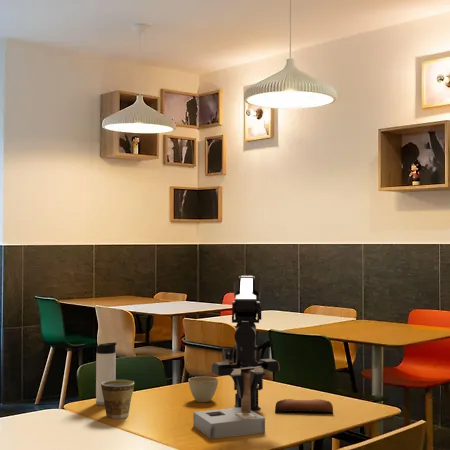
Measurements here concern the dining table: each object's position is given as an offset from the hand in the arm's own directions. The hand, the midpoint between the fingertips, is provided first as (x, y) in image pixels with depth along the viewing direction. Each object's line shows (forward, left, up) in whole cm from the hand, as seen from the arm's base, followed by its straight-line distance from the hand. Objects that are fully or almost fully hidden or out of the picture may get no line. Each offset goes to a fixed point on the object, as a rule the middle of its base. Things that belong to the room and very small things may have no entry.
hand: (245, 397), depth 189 cm
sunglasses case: (-26, -14, -10) cm, 31 cm away
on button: (0, 0, -7) cm, 7 cm away
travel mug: (+29, -47, -9) cm, 56 cm away
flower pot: (-2, -39, -9) cm, 40 cm away
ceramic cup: (+30, -31, -9) cm, 44 cm away
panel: (+4, -3, -9) cm, 10 cm away
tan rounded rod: (0, 0, -4) cm, 4 cm away
